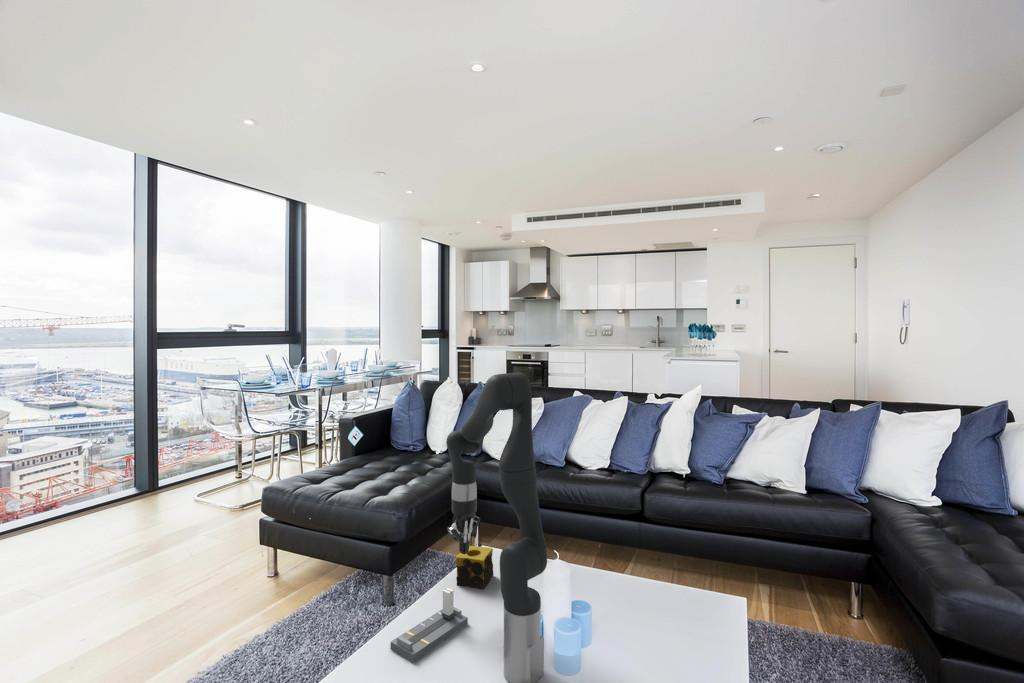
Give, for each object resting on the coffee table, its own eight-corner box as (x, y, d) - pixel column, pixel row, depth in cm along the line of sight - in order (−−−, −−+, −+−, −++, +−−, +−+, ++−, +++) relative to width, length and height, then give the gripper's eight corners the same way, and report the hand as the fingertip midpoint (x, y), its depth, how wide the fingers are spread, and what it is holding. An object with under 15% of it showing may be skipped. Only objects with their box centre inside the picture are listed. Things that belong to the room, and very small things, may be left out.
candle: (493, 575, 176) (493, 547, 176) (484, 590, 166) (484, 560, 166) (466, 572, 179) (466, 544, 179) (455, 586, 169) (455, 556, 169)
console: (467, 624, 147) (467, 612, 147) (413, 662, 130) (413, 648, 130) (445, 613, 153) (445, 601, 153) (390, 648, 136) (390, 635, 136)
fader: (454, 615, 147) (454, 590, 147) (449, 619, 145) (448, 593, 145) (447, 612, 149) (447, 587, 149) (441, 616, 147) (441, 590, 147)
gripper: (458, 505, 144) (458, 564, 145) (487, 492, 155) (487, 548, 155) (439, 499, 149) (439, 557, 149) (469, 488, 159) (469, 542, 160)
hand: (464, 552), depth 152 cm, fingers closed
